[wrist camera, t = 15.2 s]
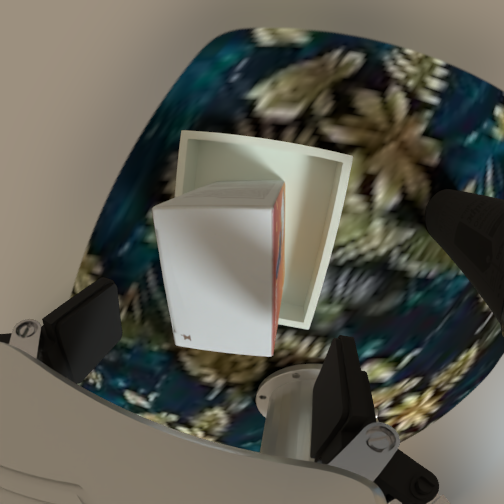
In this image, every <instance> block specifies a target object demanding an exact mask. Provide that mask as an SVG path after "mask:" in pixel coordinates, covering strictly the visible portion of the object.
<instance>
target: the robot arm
mask: <svg viewBox="0 0 504 504" xmlns="http://www.w3.org/2000/svg"><path fill="white" fill-rule="evenodd" d="M42 320H43V324H44V325H43V326H42V327H41V325H40V323H39V322H38V321H36V320H33V319H27V320H23V321H20V322H19V323H17V324H16V325H15V327H14V329H13V331H12V333H10V334H0V504H450V503H449V502H448V500H447V499H446V497H445V496H444V495H442V496H439V494H438V491H439V483H438V480H437V478H436V476H435V475H434V474H433V473H431V472H430V471H428V470H427V469H425V468H424V467H423V466H421V465H420V464H418V463H417V462H416V461H414V460H413V459H411V458H410V457H409V456H407V455H406V454H404V453H403V452H402V451H400V450H399V449H398V447H399V445H400V439H399V435H398V433H397V432H396V430H395V429H393V428H392V427H391V426H389V425H387V424H385V423H380V422H378V419H377V416H378V410H377V409H374V404H373V399H372V394H371V389H370V384H369V380H368V375H367V373H366V372H365V371H361V368H360V363H359V359H358V354H357V349H356V345H355V341H354V338H353V337H348V336H342V335H340V336H339V337H338V339H337V338H334V339H333V341H332V343H331V346H330V348H329V351H328V353H327V356H326V358H325V360H324V363H323V364H300V365H294V366H290V367H286V368H283V369H281V370H278V371H276V372H274V373H273V374H271V375H269V376H268V377H267V378H266V379H264V380H263V381H262V383H261V384H260V386H259V388H258V391H257V395H256V405H257V407H258V410H259V411H260V412H261V414H262V415H263V416H264V417H266V421H265V427H264V433H263V438H262V444H261V449H260V453H258V452H253V451H249V450H244V449H240V448H236V447H231V446H227V445H223V444H220V443H216V442H212V441H209V440H205V439H202V438H199V437H195V436H192V435H189V434H186V433H183V432H180V431H177V430H174V429H172V428H169V427H166V426H164V425H161V424H158V423H156V422H153V421H151V420H148V419H146V418H143V417H141V416H139V415H136V414H134V413H132V412H130V411H127V410H125V409H123V408H121V407H119V406H117V405H115V404H113V403H111V402H109V401H107V400H105V399H103V398H101V397H99V396H97V395H95V394H93V393H91V392H90V391H88V390H86V389H84V388H82V387H81V386H79V385H77V383H81V382H82V381H83V380H84V379H85V377H86V376H87V375H88V374H89V373H90V372H91V371H92V370H93V369H94V367H95V366H96V365H97V364H98V363H99V362H100V361H101V360H102V359H103V358H104V357H105V355H106V354H107V353H108V352H109V351H110V350H111V349H112V348H113V347H114V346H115V345H116V344H117V343H118V341H119V340H120V339H121V337H122V327H121V319H120V311H119V301H118V291H117V286H116V285H115V282H114V281H113V280H110V279H107V278H104V277H102V278H100V279H98V280H97V281H95V282H94V283H92V284H91V285H89V286H88V287H86V288H85V289H84V290H82V291H81V292H79V293H78V294H76V295H75V296H73V297H72V298H71V299H69V300H68V301H66V302H65V303H64V304H62V305H61V306H59V307H58V308H57V309H55V310H54V311H53V312H51V313H50V314H48V315H47V316H46V317H44V318H43V319H42Z"/></svg>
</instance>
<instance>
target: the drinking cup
mask: <svg viewBox="0 0 504 504" xmlns="http://www.w3.org/2000/svg"><path fill="white" fill-rule="evenodd" d="M425 222H426V227H427V230H428V232H429V234H430V235H431V236H432V237H433V239H434V240H435V241H436V242H437V243H438V244H439V245H440V246H441V247H442V248H443V250H444V251H445V252H446V253H447V254H448V255H449V256H450V258H451V259H452V260H453V261H454V262H455V263H456V265H457V266H458V267H459V268H460V269H461V271H462V272H463V273H464V274H465V276H466V277H467V278H468V279H469V281H470V282H471V283H472V285H473V286H474V287H475V288H476V290H477V291H478V292H479V294H480V295H481V297H482V298H483V299H484V301H485V302H486V303H487V305H488V306H489V308H490V309H491V311H492V312H493V314H494V315H495V317H496V318H497V320H498V321H499V323H500V324H501V330H502V334H503V337H504V200H502V199H497V198H493V197H488V196H483V195H478V194H473V193H468V192H463V191H457V190H451V189H444V190H441V191H439V192H437V193H436V194H435V195H434V196H433V197H432V198H431V200H430V201H429V203H428V206H427V209H426V214H425Z"/></svg>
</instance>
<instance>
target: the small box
mask: <svg viewBox="0 0 504 504" xmlns="http://www.w3.org/2000/svg"><path fill="white" fill-rule="evenodd" d="M152 214H153V219H154V226H155V231H156V237H157V243H158V250H159V256H160V262H161V268H162V275H163V280H164V286H165V291H166V297H167V302H168V307H169V312H170V317H171V323H172V328H173V335H174V341H175V345H177V346H182V347H188V348H194V349H201V350H208V351H216V352H224V353H233V354H242V355H253V356H267V357H271V356H273V353H274V346H275V339H276V332H277V326H278V319H279V313H280V306H281V299H282V292H283V285H284V277H285V182H284V181H276V180H240V181H216V182H214V183H211V184H208V185H206V186H203V187H200V188H198V189H195V190H193V191H190V192H188V193H185V194H183V195H180V196H178V197H175V198H173V199H170V200H168V201H166V202H163V203H161V204H159V205H156V206H154V207H153V208H152Z"/></svg>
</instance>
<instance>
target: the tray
mask: <svg viewBox="0 0 504 504" xmlns="http://www.w3.org/2000/svg"><path fill="white" fill-rule="evenodd" d="M352 160H353V156H350V155H346V154H342V153H338V152H334V151H329V150H325V149H320V148H315V147H310V146H305V145H300V144H295V143H289V142H283V141H277V140H271V139H264V138H257V137H250V136H242V135H233V134H224V133H213V132H201V131H187V130H181V138H180V146H179V155H178V165H177V176H176V187H175V197H178V196H180V195H183V194H185V193H188V192H190V191H193V190H195V189H198V188H200V187H203V186H206V185H208V184H211V183H214V182H216V181H240V180H276V181H284V182H285V277H284V285H283V292H282V299H281V306H280V313H279V319H278V324H281V325H286V326H292V327H297V328H303V329H308V330H309V327H310V324H311V321H312V318H313V315H314V312H315V309H316V305H317V302H318V299H319V295H320V292H321V289H322V285H323V282H324V278H325V275H326V271H327V268H328V264H329V260H330V257H331V253H332V249H333V245H334V241H335V237H336V233H337V229H338V225H339V221H340V217H341V212H342V208H343V204H344V199H345V195H346V190H347V185H348V180H349V175H350V170H351V165H352Z"/></svg>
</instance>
